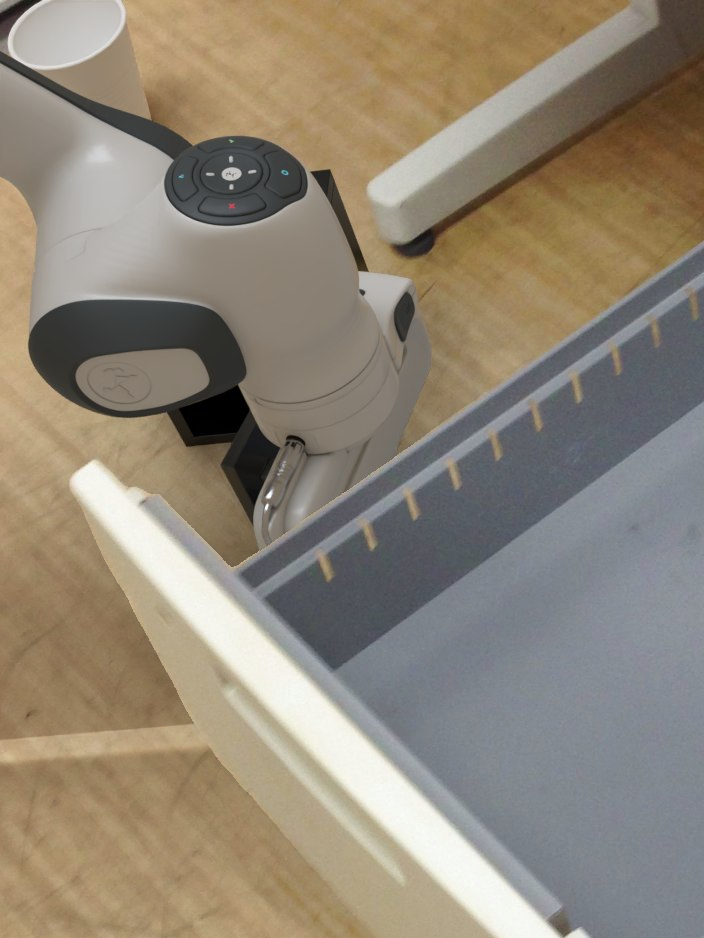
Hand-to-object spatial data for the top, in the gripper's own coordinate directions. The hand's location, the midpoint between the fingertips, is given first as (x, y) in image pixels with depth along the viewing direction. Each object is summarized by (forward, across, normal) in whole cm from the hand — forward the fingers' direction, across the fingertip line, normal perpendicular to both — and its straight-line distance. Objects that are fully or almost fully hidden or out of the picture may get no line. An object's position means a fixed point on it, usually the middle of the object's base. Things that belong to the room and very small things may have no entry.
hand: (380, 520), depth 117 cm
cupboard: (+7, +16, +16) cm, 24 cm away
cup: (+7, +41, +41) cm, 58 cm away
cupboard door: (+7, +5, +3) cm, 9 cm away
